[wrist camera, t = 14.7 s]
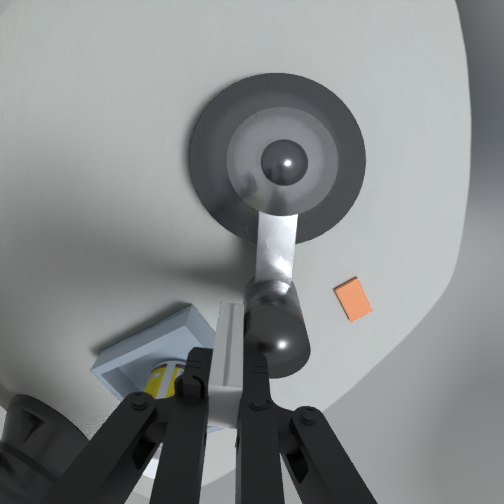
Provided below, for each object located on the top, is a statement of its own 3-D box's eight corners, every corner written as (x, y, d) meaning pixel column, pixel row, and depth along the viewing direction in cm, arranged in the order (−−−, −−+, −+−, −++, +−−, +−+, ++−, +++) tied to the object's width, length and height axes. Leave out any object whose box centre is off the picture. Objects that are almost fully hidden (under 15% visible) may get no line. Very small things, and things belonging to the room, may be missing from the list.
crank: (231, 108, 16) (219, 90, 10) (332, 116, 16) (369, 104, 10) (225, 315, 21) (216, 375, 15) (309, 318, 21) (326, 378, 15)
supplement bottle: (157, 395, 27) (130, 478, 17) (147, 354, 25) (108, 444, 15) (212, 401, 27) (199, 490, 17) (208, 359, 25) (189, 459, 15)
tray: (174, 422, 29) (169, 442, 26) (101, 351, 26) (89, 370, 23) (265, 392, 27) (266, 415, 24) (192, 304, 23) (184, 325, 21)
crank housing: (249, 263, 22) (249, 274, 20) (166, 133, 19) (157, 133, 17) (380, 189, 20) (391, 194, 18) (305, 54, 17) (310, 45, 15)
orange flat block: (350, 320, 24) (351, 322, 24) (334, 289, 23) (335, 290, 23) (371, 309, 23) (372, 310, 23) (356, 276, 22) (357, 278, 22)
